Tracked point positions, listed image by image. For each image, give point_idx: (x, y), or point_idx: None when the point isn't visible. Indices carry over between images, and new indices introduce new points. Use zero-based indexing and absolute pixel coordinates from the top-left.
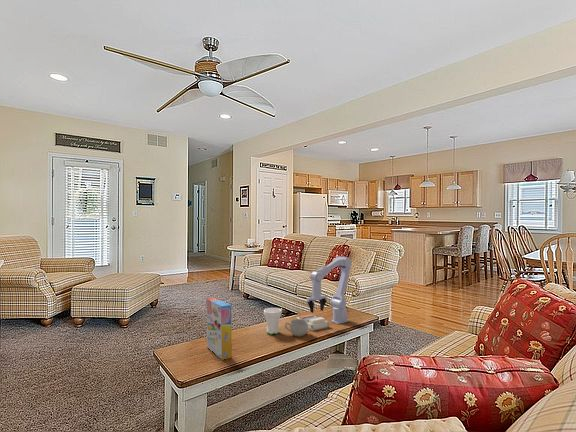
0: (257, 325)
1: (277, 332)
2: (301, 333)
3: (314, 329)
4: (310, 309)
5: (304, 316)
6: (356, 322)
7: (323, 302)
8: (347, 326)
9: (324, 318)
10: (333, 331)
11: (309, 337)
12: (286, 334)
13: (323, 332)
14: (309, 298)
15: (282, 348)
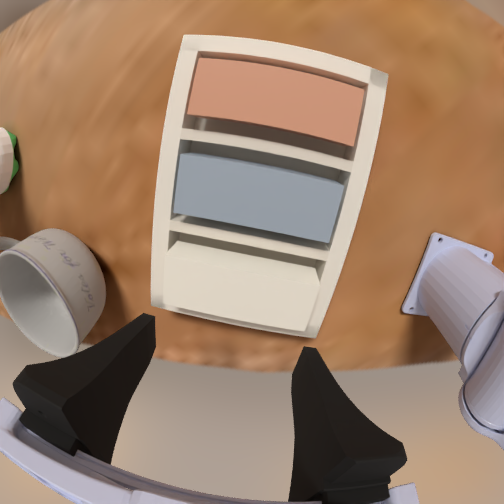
0: (23, 19)
1: (3, 192)
2: (62, 316)
3: None
4: (124, 332)
5: (236, 95)
6: None
7: (292, 483)
8: (394, 360)
9: (303, 329)
10: (270, 366)
11: (105, 330)
12: (33, 219)
13: (210, 342)
14: (21, 466)
15: (6, 314)
